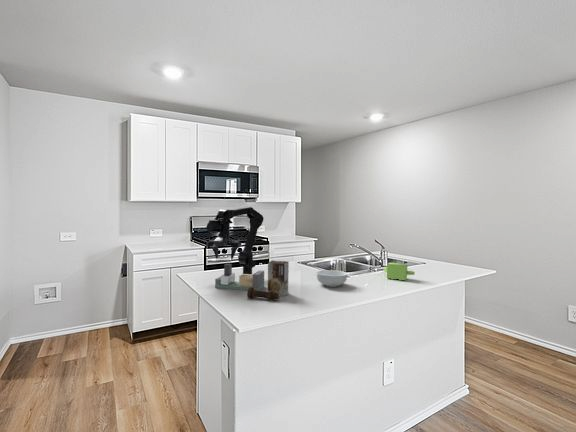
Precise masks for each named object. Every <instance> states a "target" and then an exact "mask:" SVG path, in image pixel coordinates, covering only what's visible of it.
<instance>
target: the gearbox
mask: <svg viewBox="0 0 576 432" xmlns="http://www.w3.org/2000/svg"><path fill="white" fill-rule="evenodd" d="M408 266H409V265H408V264H407V263H400V262H388V263H387V267H383V271H382V272H386V279H387V278H391V279H390V280H393V279H399V280H398V281H400V280H405V281H406V280H407V279H406V278H408V276H412V275H413V276H414V275H415V271H414V270H408Z"/></svg>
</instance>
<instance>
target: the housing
mask: <svg viewBox="0 0 576 432" xmlns="http://www.w3.org/2000/svg"><path fill="white" fill-rule="evenodd" d="M252 274H253V273H252ZM252 274H243V273H242V274H241V275H239V278H238V279H239V281H238V282H239V286H249V287H253V275H252Z"/></svg>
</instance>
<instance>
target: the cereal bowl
mask: <svg viewBox="0 0 576 432" xmlns="http://www.w3.org/2000/svg"><path fill="white" fill-rule="evenodd" d="M347 278H348V273H347V272H346V271H342V270H335V269H334V270H333V269H324V270H318V271H316V279H317V281H318V282H319V283H320V284H323V285H324V286H325V285H326V286H325V287H328V286H330V287H329V288H335V287H336V286H337V287H339V286H341V285H343V284H345V283H346V282H347Z"/></svg>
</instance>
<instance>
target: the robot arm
mask: <svg viewBox="0 0 576 432" xmlns="http://www.w3.org/2000/svg"><path fill="white" fill-rule="evenodd" d="M243 215H244V216H245V215H246V217H247V218H248V219H249V220H248V223H249V229H248V230H249V231H248V233H247V237H246V241H245V244H244V248H243V250H240V251H239V252H238V253H239V254H238V256H237V258H238V259H237V260H238V263H239V266H240V267H242V274H252V275H253V274H254V273H253V268H255V267H256V265H257V264H256V261H254V255H253V249H254V248H253V247H254V244H255V241H256V237H257V233H258V230H259V228H260V227H261V226H262V224H263V222H264V219H265V218H264V216H263V214H261V213H260V211H259V212H258V211H257V210H256V209H254V207H251V206H246V207H242V208H235V209H223V208H222V209H219V210H218V212H217V214H216V216H215V217H214V219H210V220H208V223H207V224H206V231H207V232H208V233H210V234H211V233H218V234H217V237H216V238H215V239H213V240H212V239H211V240H208V241H207V243H206V244H207V245H206V246H207V247H209V248H210V249H212V252H213V253H214V256H215V259H216V260H217V259H218V258H219V247H223V246H229V247H230V250H231V252H230V260H231V261H232V260H234V256H235V254H236V252H237V250H238V249H239V248H241V247H242V242H241V241H236V240H235V241H231V240H230V238H231V237H230V236H231V231H230V230H231V229H230V227H231V226H230V225H231V224H233V221H232V220H231V219H234V218H235V217H238V216H243Z"/></svg>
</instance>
